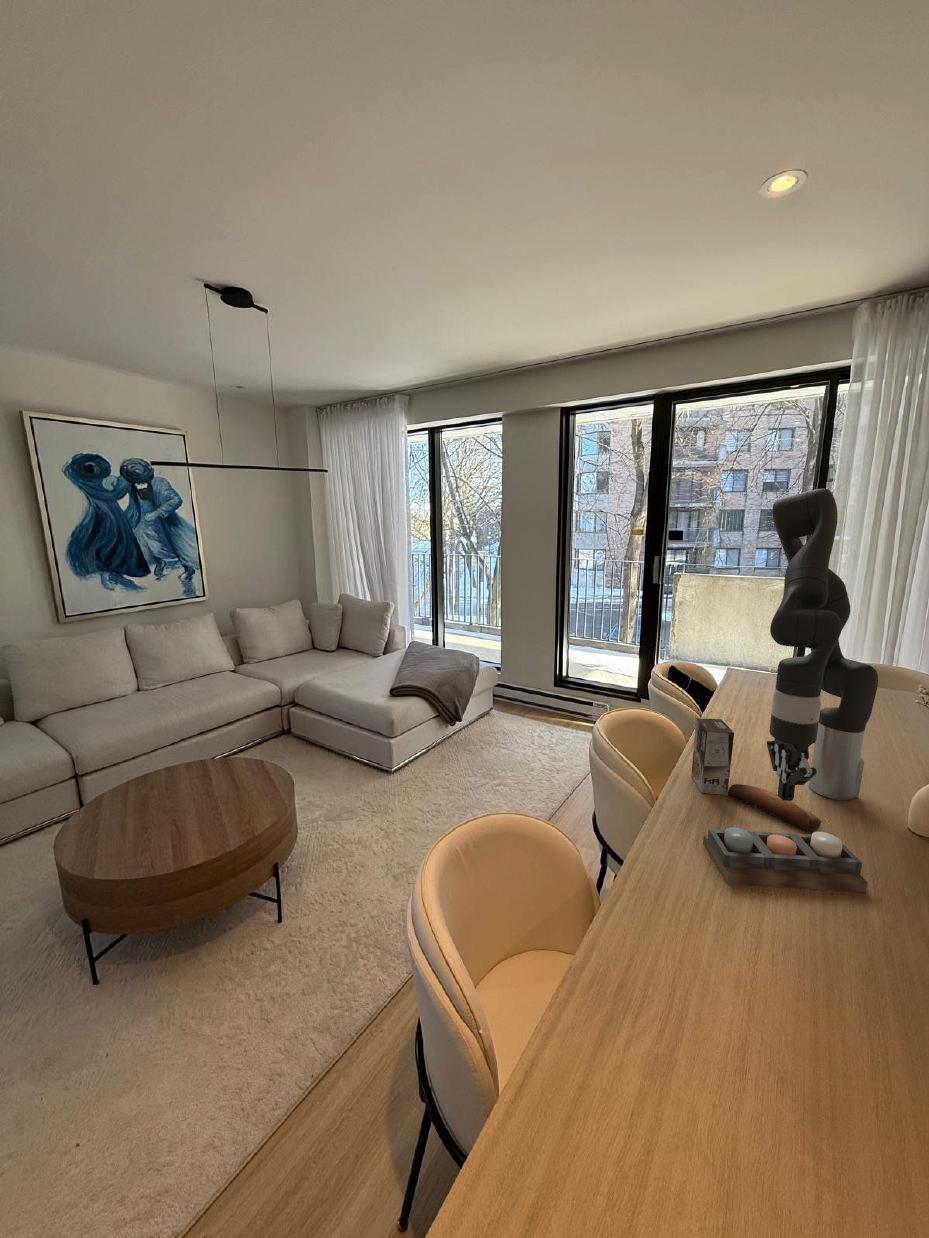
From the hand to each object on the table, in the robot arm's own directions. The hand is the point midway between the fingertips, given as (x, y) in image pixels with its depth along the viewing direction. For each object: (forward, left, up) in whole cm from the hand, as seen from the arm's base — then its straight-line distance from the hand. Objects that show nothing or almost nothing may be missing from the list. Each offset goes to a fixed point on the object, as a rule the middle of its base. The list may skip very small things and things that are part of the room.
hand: (785, 798), depth 98 cm
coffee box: (+3, -28, -13) cm, 31 cm away
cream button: (-7, +3, -10) cm, 12 cm away
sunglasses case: (-8, -18, -13) cm, 24 cm away
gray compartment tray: (+1, +3, -13) cm, 13 cm away
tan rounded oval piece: (+1, +3, -11) cm, 11 cm away
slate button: (+9, +3, -10) cm, 13 cm away
